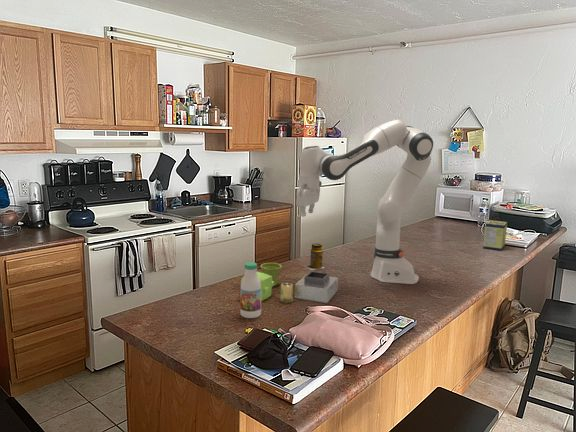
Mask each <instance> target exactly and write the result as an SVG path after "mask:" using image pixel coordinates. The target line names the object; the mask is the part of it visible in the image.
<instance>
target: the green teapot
mask: <svg viewBox="0 0 576 432" xmlns="http://www.w3.org/2000/svg"><path fill="white" fill-rule="evenodd" d="M257 275H258V278H259V280H260V283H261V302H263V301H265V300H266V299H268V298H270V297H271V296H272V291H273V289H272V288H273V287H275V286H274V281H272V276H270V275H267V274H264V273H263V272H261V271H257ZM242 279H243V277H241V279H240V283H241V282H242Z"/></svg>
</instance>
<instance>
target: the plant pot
mask: <svg viewBox="0 0 576 432" xmlns="http://www.w3.org/2000/svg"><path fill="white" fill-rule="evenodd" d="M260 268H261V270H262V273H264V274H267V275H270V276H272V281H274V286H273V287H275V286H277V285H278V281H279V276H280V271H281V268H282V264H280V263H277V262H265V263H261V264H260Z"/></svg>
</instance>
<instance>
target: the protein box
mask: <svg viewBox="0 0 576 432" xmlns="http://www.w3.org/2000/svg"><path fill="white" fill-rule="evenodd" d="M507 228H508V221H502V220H501V221H500V220H492V219H489V220H488V221H487V222H486V223H485V226H484V237H483V245H482V248H483V249H485V250H493V251H498V252H499V251H500V252H502V250H503V249H504V247H505V246H506V238H507Z"/></svg>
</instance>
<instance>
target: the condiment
mask: <svg viewBox="0 0 576 432" xmlns="http://www.w3.org/2000/svg"><path fill="white" fill-rule="evenodd" d="M323 254H324V251H323V245H322V244H321V243H313V244H311V249H310V264H309V265H304V266H303V267H304V268H306V269H309V270H310V271H315V270H321V269H325V268H326V266H325V267H324V266H323Z"/></svg>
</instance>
